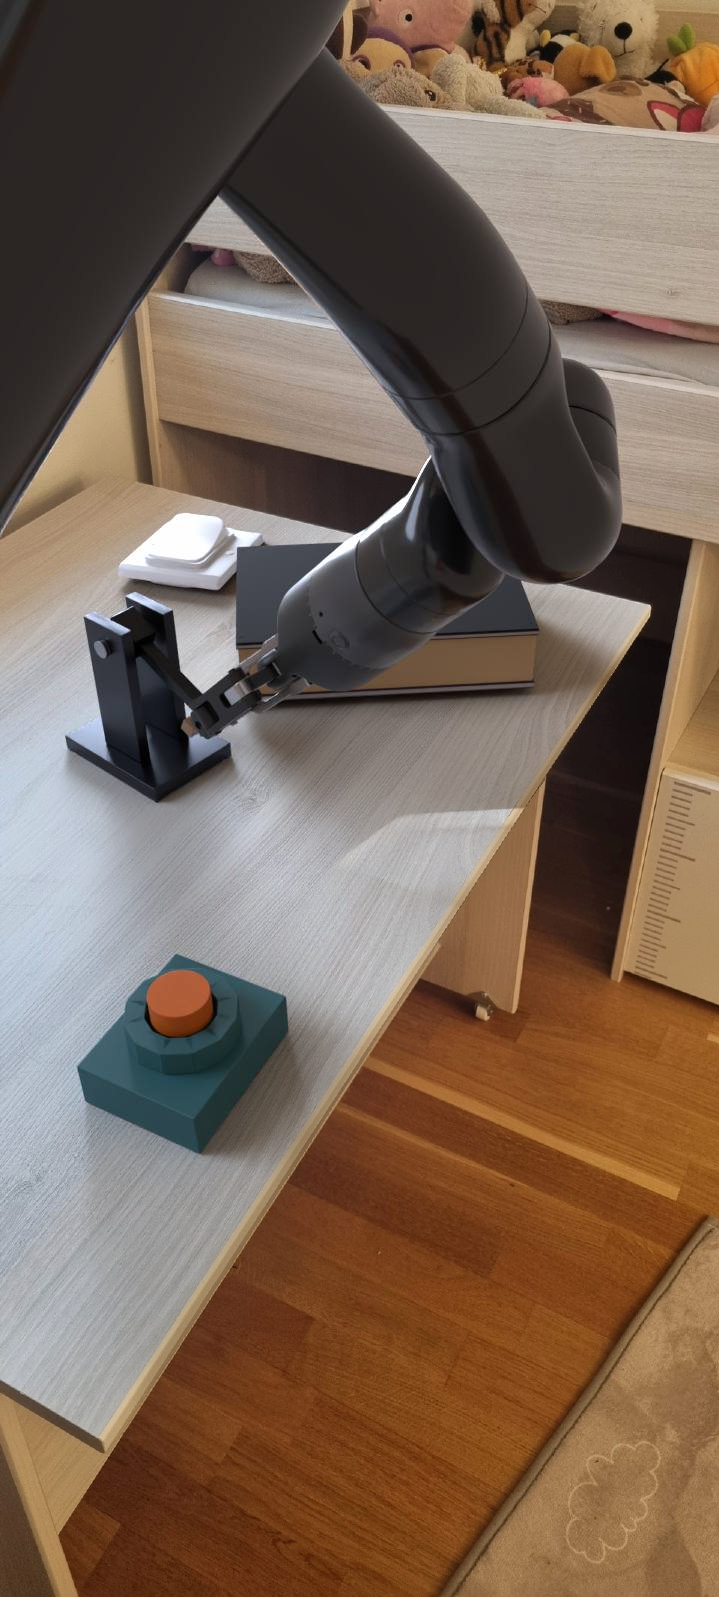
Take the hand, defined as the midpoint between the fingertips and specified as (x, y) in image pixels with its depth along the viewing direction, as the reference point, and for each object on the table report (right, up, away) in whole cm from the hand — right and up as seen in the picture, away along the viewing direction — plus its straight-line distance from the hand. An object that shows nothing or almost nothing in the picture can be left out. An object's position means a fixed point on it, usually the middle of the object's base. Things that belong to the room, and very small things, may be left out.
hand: (245, 699), depth 84 cm
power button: (-2, -19, -15) cm, 25 cm away
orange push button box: (-2, -23, -13) cm, 26 cm away
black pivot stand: (-9, -3, +13) cm, 16 cm away
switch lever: (-7, +2, +6) cm, 9 cm away
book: (+10, +6, +25) cm, 27 cm away
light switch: (-9, +17, +39) cm, 44 cm away
